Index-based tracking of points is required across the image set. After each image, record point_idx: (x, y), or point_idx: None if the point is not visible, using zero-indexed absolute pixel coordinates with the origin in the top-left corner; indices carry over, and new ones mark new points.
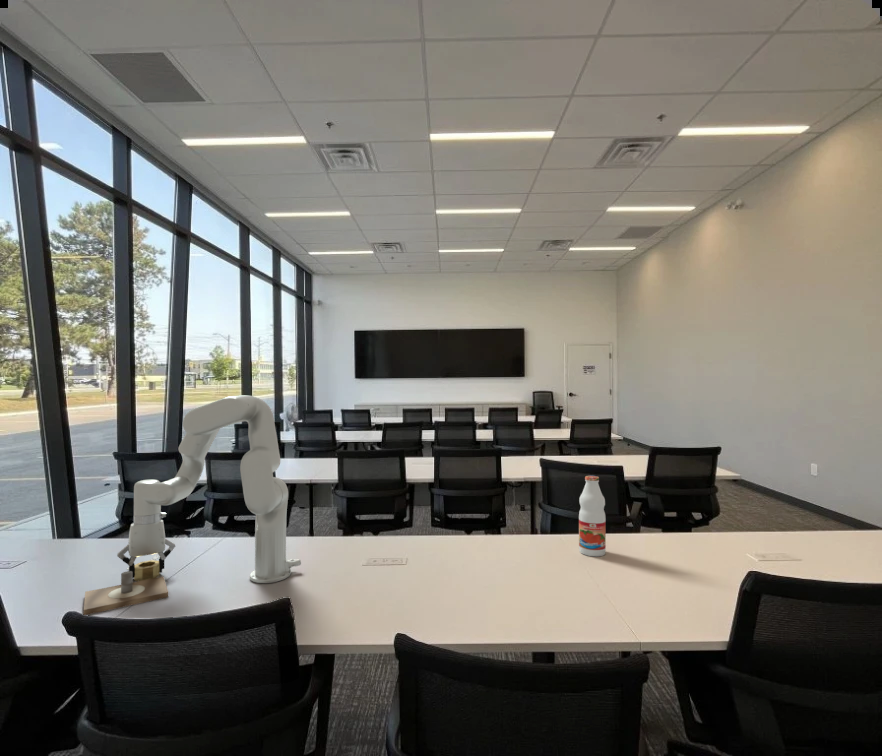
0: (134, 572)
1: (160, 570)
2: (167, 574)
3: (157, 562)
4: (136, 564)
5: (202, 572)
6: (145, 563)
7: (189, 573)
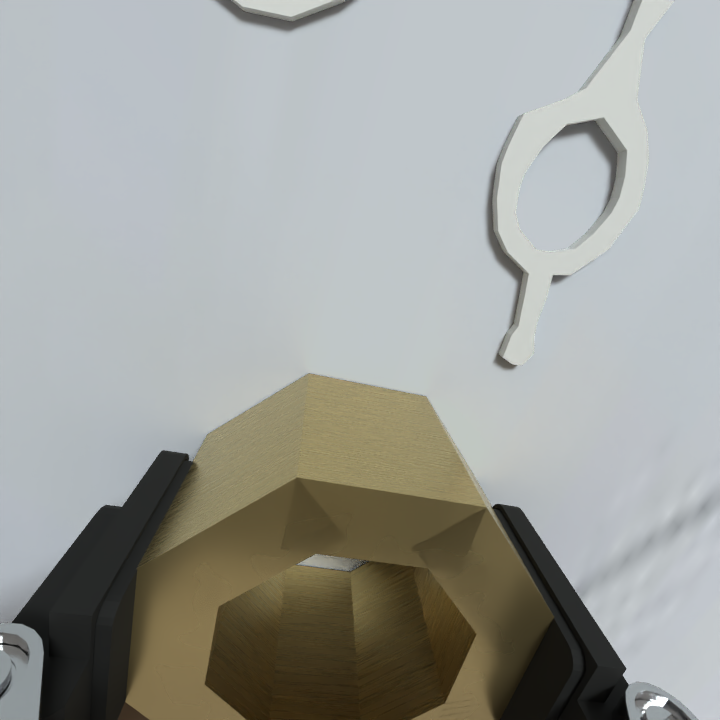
0: None
1: None
2: None
3: (496, 676)
4: (185, 555)
5: (708, 699)
6: (353, 545)
7: (640, 662)
